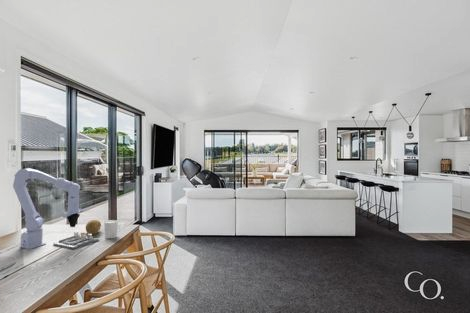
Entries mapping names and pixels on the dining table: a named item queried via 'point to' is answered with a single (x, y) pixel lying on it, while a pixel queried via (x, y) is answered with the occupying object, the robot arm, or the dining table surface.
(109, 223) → the white cup
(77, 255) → the dining table surface
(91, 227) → the potato
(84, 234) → the breaker
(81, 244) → the panel
